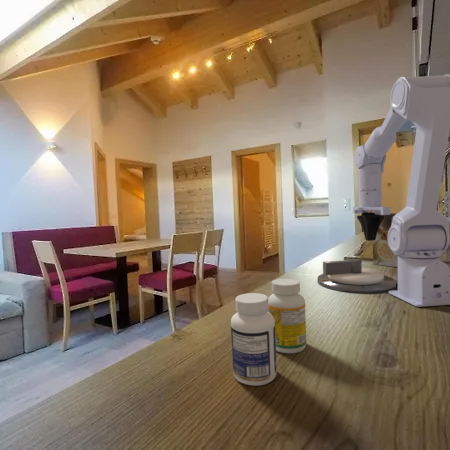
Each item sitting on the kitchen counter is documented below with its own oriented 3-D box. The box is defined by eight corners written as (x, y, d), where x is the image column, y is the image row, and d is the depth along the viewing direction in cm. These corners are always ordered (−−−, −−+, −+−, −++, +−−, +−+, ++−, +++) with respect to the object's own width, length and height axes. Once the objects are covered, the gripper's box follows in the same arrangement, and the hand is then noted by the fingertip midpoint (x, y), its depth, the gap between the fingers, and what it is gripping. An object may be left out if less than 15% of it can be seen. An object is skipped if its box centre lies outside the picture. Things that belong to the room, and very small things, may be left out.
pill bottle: (249, 359, 42) (246, 288, 42) (284, 371, 39) (282, 295, 38) (224, 377, 38) (220, 299, 38) (261, 392, 35) (258, 307, 34)
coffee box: (411, 264, 96) (411, 212, 95) (402, 268, 92) (402, 213, 91) (380, 261, 103) (380, 212, 102) (371, 264, 99) (371, 214, 98)
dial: (364, 270, 86) (363, 254, 85) (396, 282, 73) (396, 263, 72) (313, 274, 84) (313, 257, 83) (337, 287, 71) (337, 267, 71)
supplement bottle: (310, 353, 43) (308, 285, 43) (271, 355, 43) (269, 287, 43) (301, 337, 49) (299, 276, 48) (266, 338, 49) (264, 277, 48)
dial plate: (413, 290, 70) (413, 285, 70) (334, 295, 69) (334, 290, 69) (370, 272, 88) (370, 268, 88) (308, 276, 87) (307, 272, 87)
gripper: (343, 192, 92) (343, 238, 93) (371, 190, 78) (372, 244, 79) (365, 191, 93) (366, 237, 94) (398, 189, 79) (398, 242, 79)
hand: (370, 240), depth 86 cm, fingers closed
